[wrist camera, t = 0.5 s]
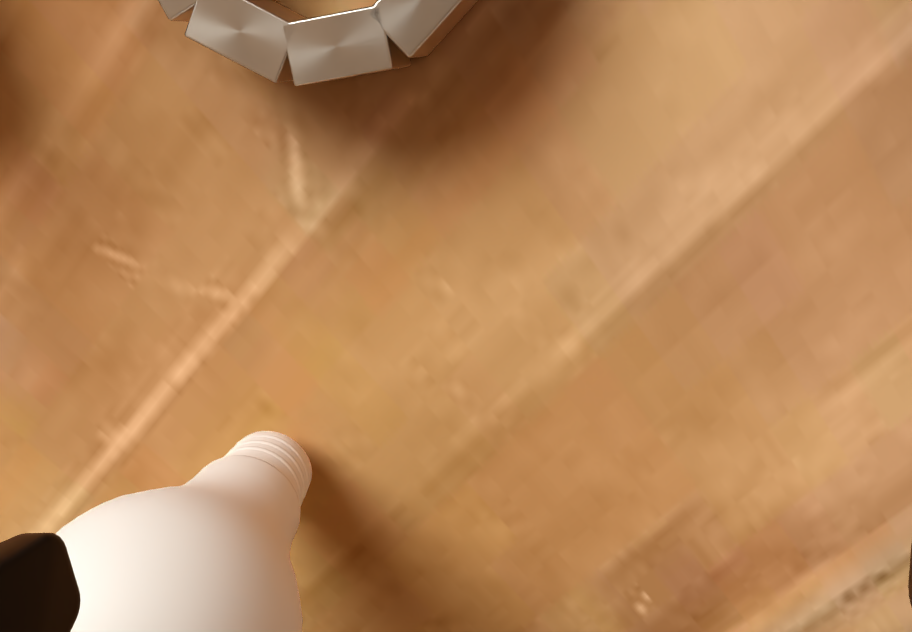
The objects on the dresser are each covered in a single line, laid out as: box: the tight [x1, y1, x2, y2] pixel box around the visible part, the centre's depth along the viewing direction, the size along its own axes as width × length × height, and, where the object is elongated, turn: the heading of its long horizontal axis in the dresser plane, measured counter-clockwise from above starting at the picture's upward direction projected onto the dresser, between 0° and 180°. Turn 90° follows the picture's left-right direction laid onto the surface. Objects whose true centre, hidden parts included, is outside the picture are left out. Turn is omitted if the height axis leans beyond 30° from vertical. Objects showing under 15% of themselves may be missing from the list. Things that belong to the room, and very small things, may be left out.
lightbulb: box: [56, 431, 312, 632], centre depth 20 cm, size 6×6×11 cm
